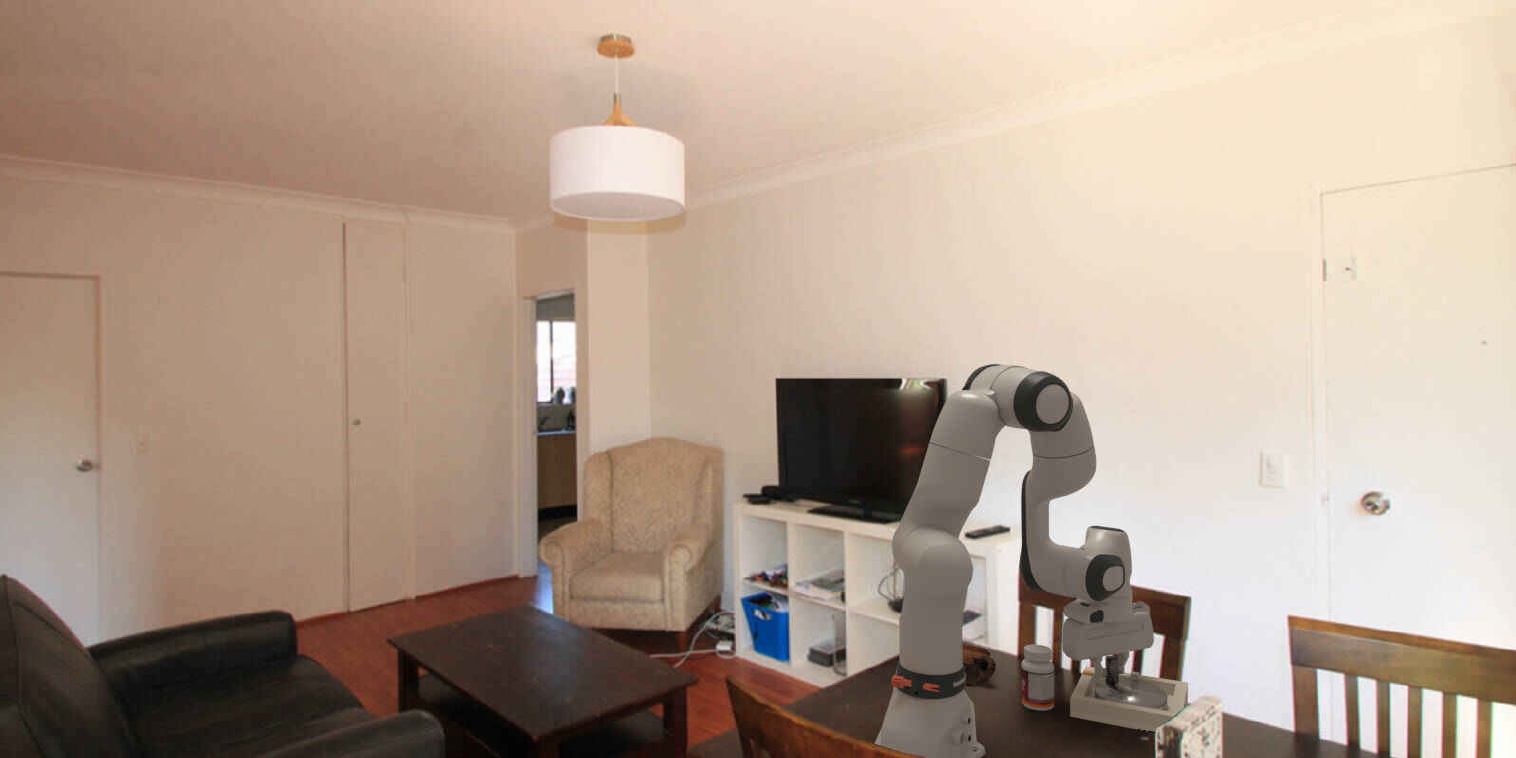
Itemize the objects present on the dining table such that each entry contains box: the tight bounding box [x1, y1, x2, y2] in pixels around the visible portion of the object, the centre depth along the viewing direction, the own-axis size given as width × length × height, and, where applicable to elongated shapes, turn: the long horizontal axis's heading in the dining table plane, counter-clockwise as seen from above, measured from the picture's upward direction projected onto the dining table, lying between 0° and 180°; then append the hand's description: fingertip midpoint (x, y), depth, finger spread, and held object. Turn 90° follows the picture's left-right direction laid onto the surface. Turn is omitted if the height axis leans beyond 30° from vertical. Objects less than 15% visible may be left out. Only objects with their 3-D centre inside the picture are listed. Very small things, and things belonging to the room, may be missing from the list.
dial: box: [1094, 655, 1167, 711], centre depth 160 cm, size 13×13×7 cm
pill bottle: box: [1020, 643, 1055, 712], centre depth 162 cm, size 6×6×11 cm
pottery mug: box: [962, 644, 997, 687], centre depth 176 cm, size 12×10×8 cm
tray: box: [1069, 666, 1189, 733], centre depth 160 cm, size 19×19×4 cm
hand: (1109, 675), depth 164 cm, fingers open, 3 cm apart
